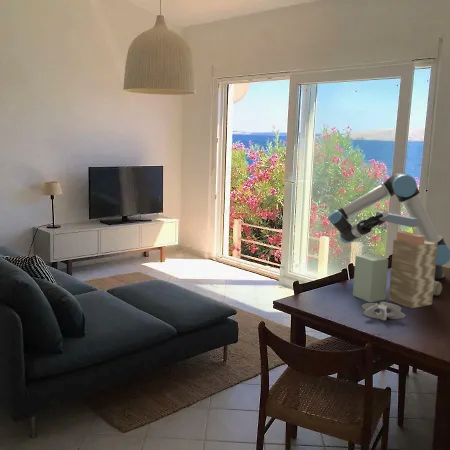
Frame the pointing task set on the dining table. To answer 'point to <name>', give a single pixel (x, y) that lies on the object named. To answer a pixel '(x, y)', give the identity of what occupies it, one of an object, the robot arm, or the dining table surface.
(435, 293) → the ceramic mug
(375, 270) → the pale green pillar
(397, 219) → the slate bar
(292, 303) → the dining table surface
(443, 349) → the dining table surface
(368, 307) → the sculpture
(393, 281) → the birch stand
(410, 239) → the terracotta bar
